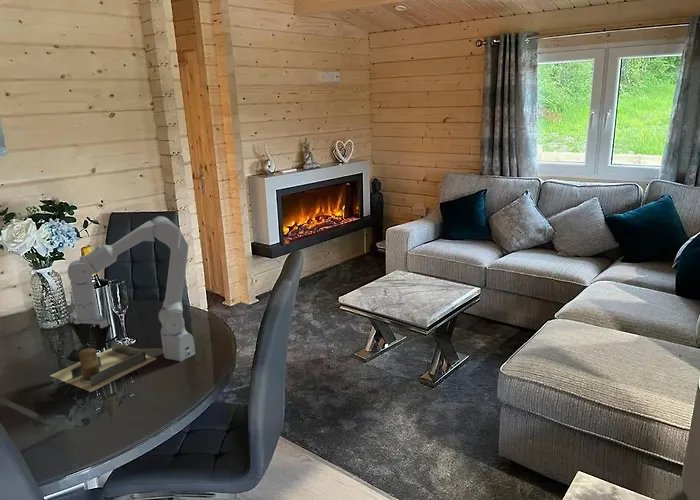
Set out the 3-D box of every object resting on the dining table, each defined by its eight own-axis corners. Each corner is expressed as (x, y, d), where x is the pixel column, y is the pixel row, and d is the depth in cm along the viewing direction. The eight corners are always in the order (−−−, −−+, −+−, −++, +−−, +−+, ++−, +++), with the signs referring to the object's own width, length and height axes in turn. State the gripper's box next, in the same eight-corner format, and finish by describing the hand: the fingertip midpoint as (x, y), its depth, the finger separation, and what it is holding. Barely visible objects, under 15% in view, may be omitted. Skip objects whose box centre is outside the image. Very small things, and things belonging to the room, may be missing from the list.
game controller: (83, 362, 161) (70, 348, 161) (75, 372, 163) (62, 358, 163) (105, 348, 170) (92, 335, 170) (97, 358, 172) (85, 345, 172)
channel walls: (146, 360, 160) (144, 351, 159) (92, 386, 145) (90, 376, 145) (113, 349, 168) (112, 341, 167) (60, 374, 153) (58, 364, 153)
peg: (103, 375, 151) (99, 350, 149) (89, 382, 147) (84, 356, 145) (94, 371, 153) (89, 347, 151) (80, 378, 150) (75, 353, 147)
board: (157, 361, 161) (156, 357, 161) (91, 395, 143) (90, 390, 143) (116, 348, 171) (115, 345, 171) (50, 378, 153) (49, 374, 153)
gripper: (56, 303, 148) (65, 346, 152) (88, 310, 141) (96, 356, 144) (79, 295, 154) (88, 337, 157) (111, 302, 147) (118, 346, 150)
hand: (93, 346), depth 151 cm, fingers open, 7 cm apart
